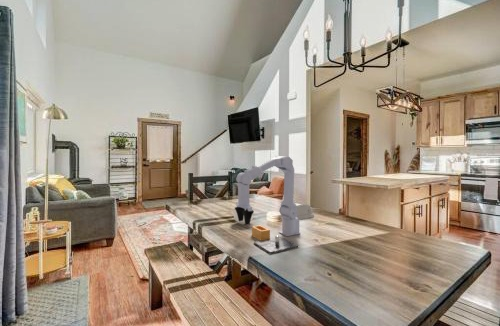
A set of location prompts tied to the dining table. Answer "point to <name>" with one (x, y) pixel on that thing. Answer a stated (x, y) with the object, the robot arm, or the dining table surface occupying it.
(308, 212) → the grey stone
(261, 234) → the orange hollow rectangular block
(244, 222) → the geodesic sphere
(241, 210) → the robot arm
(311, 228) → the dining table surface
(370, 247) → the dining table surface
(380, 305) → the dining table surface
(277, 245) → the keeper plate
